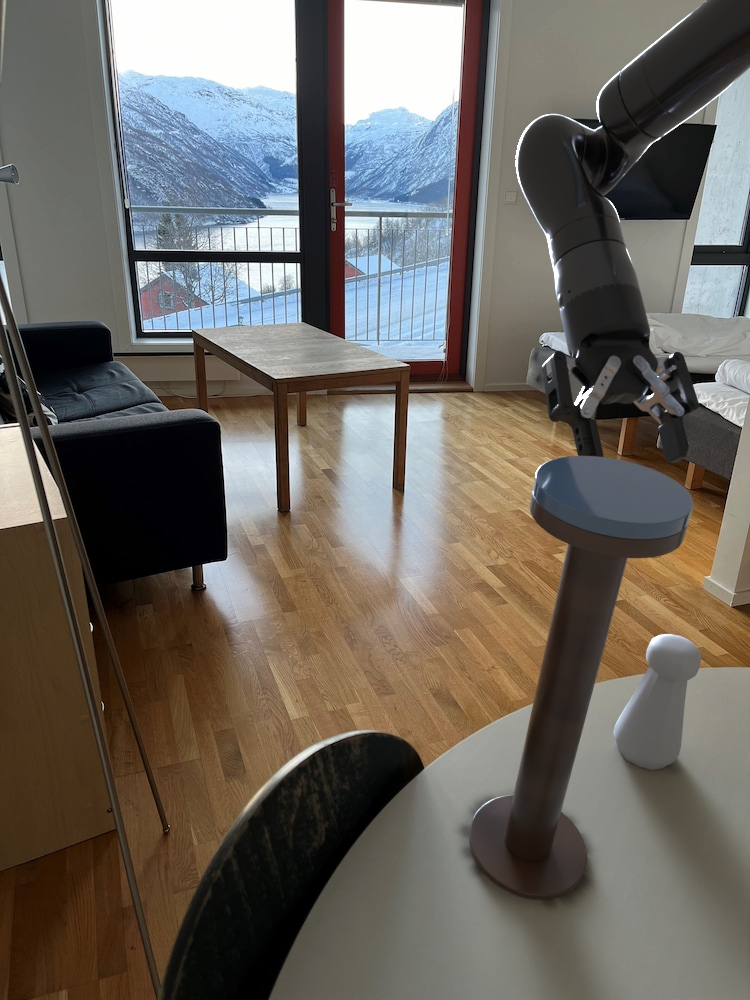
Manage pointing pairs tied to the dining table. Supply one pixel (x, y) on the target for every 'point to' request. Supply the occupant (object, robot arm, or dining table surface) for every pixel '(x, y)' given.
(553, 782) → the stand
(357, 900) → the dining table surface
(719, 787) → the dining table surface
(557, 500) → the blue round disc
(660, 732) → the salt shaker
